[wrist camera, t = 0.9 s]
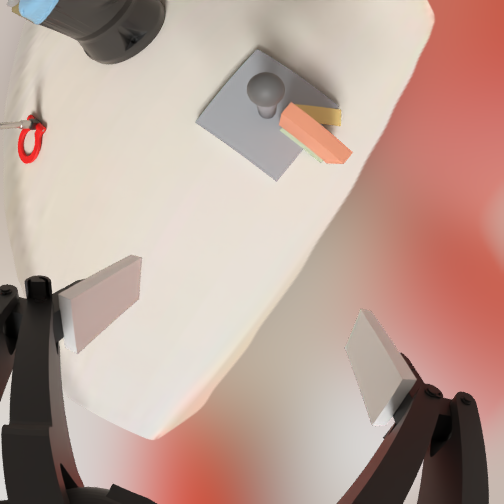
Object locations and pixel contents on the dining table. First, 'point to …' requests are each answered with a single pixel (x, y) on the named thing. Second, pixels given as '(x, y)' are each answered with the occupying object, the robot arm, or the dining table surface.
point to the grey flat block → (260, 129)
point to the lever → (295, 119)
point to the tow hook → (25, 126)
